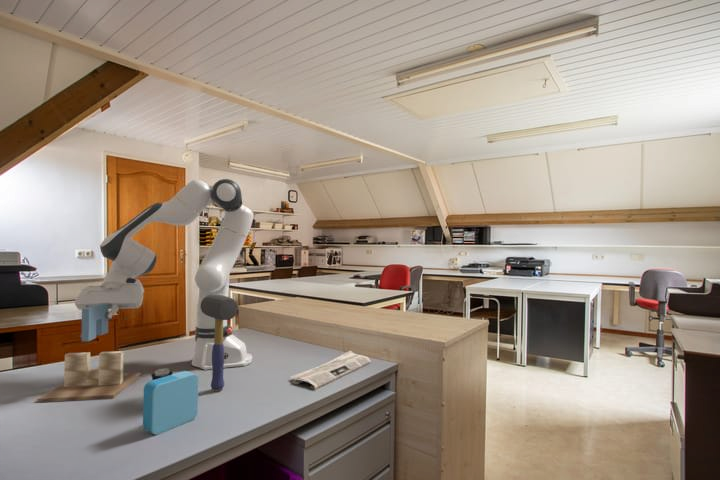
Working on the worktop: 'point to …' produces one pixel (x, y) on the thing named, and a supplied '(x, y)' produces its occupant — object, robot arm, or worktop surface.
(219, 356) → the rubber mallet
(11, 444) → the worktop surface
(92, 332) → the slotted plate
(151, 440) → the worktop surface
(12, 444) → the worktop surface
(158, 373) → the push button
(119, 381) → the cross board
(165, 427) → the blue carrying case
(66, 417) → the worktop surface
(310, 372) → the newspaper
